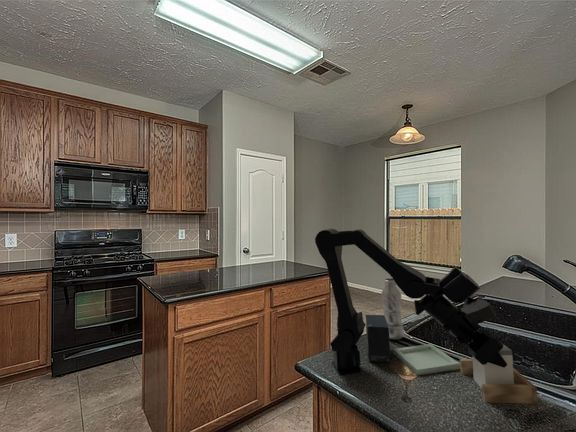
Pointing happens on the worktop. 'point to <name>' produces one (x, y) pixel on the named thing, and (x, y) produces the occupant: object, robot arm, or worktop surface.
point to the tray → (425, 359)
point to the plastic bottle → (392, 309)
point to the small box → (377, 338)
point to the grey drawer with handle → (494, 370)
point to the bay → (505, 388)
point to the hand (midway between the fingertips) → (497, 359)
